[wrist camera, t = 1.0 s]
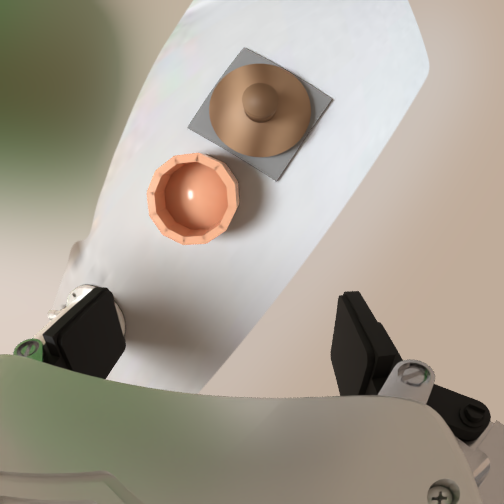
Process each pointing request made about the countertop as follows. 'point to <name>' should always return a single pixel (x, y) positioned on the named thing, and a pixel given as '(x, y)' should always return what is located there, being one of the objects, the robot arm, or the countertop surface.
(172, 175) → the bowl
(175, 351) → the countertop surface
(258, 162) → the mat
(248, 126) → the lid
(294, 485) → the robot arm
